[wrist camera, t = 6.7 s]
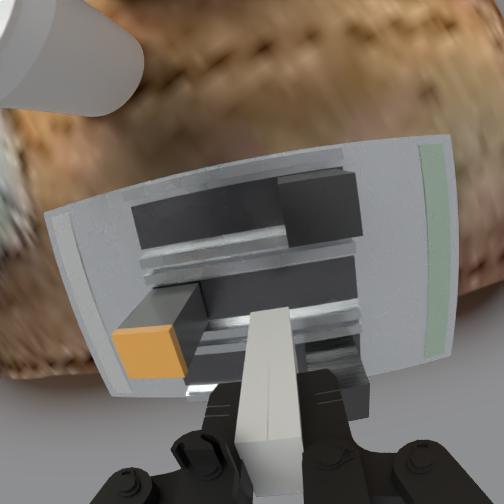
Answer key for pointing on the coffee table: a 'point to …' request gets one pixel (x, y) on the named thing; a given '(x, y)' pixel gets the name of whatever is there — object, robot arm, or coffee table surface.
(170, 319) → the breaker
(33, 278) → the coffee table surface
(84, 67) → the beverage can
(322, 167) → the breaker panel
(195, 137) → the coffee table surface
